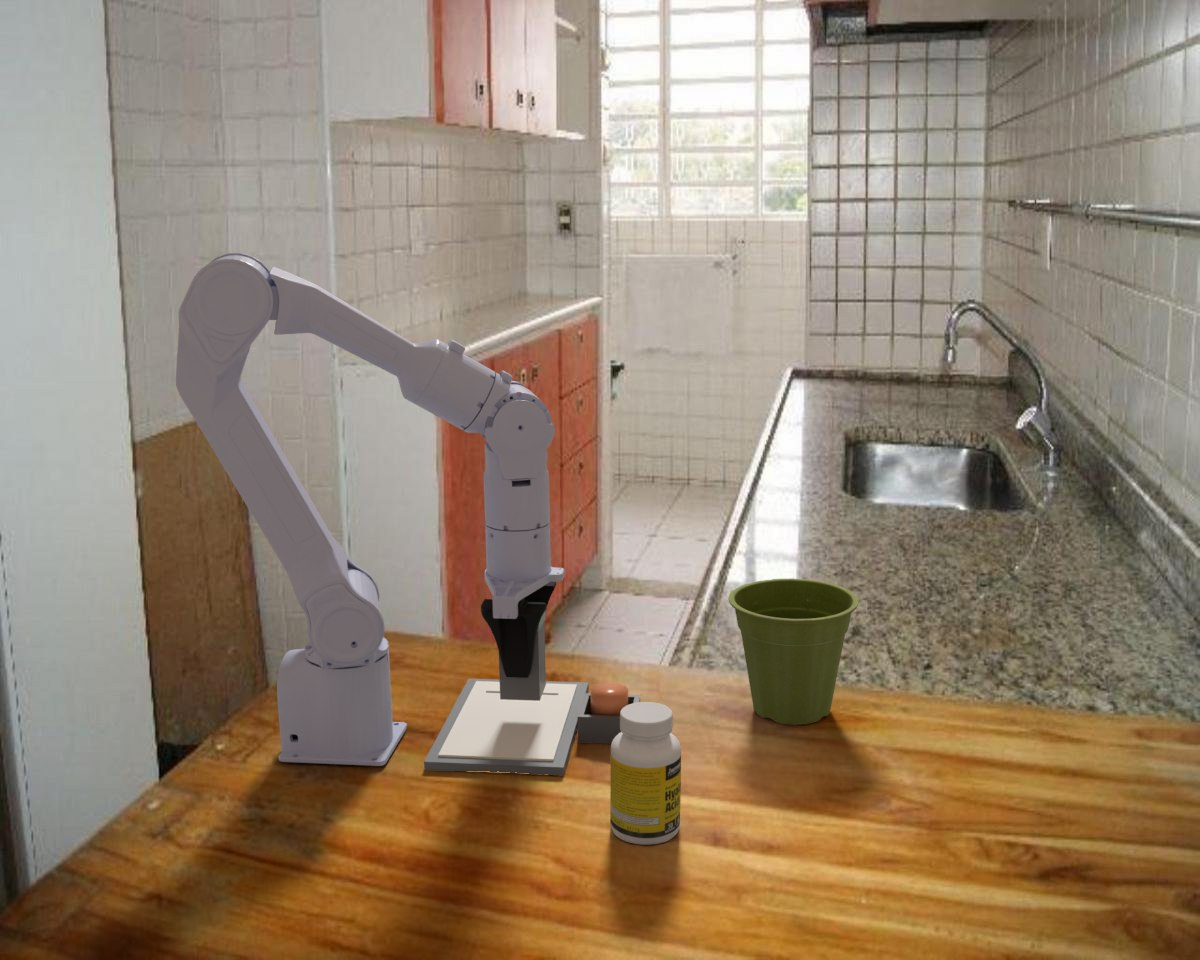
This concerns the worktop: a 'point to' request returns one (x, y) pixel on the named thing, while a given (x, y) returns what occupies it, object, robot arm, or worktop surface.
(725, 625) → the worktop surface
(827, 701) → the plant pot
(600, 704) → the button
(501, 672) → the block
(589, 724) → the button housing
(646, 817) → the supplement bottle
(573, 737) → the sketch board
